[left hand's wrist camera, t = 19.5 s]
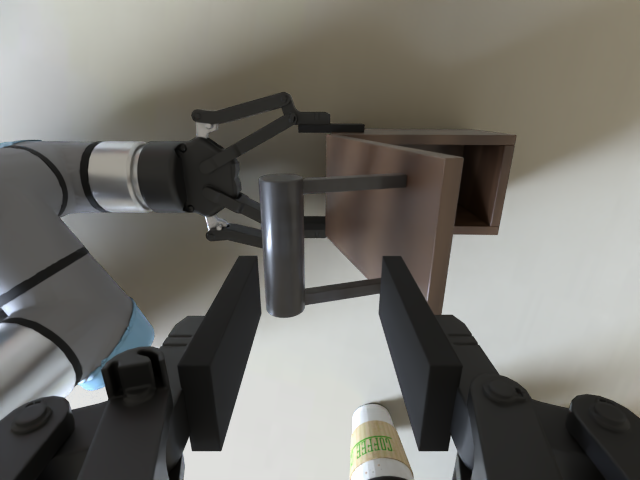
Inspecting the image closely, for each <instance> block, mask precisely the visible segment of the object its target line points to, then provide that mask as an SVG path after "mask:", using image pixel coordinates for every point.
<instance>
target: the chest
mask: <svg viewBox="0 0 640 480" xmlns="http://www.w3.org/2000/svg"><path fill="white" fill-rule="evenodd" d="M331 135H341V136H347V137H352V138H358V139H364V140H369V141H375V142H380V143H386V144H391V145H397V146H403V147H408V148H414V149H419V150H425V151H431V152H436V153H442V154H447V155H453V156H459V157H463V158H464V161H463V168H462V174H461V181H460V188H459V195H458V202H457V209H456V216H455V223H454V230H453V234H468V235H498V230H499V225H500V220H501V215H502V209H503V204H504V199H505V194H506V188H507V183H508V178H509V173H510V167H511V162H512V157H513V152H514V145H515V141H516V135H511V134H503V133H496V132H488V131H480V130H472V129H364V132H332V133H331Z"/></svg>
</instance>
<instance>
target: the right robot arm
mask: <svg viewBox="0 0 640 480" xmlns="http://www.w3.org/2000/svg"><path fill="white" fill-rule="evenodd" d="M278 108H282V111H283V113H284V116H282V117H280V118H279V119H277V120H275V121H273V122H272V123H270V124H268V125H267V126H265V127H263V128H261V129H260V130H258V131H256V132H254V133H253V134H251V135H249V136H248V137H246V138H244V139H242V140H241V141H239V142H237V143H236V144H234V145H232V146H230V147H228V148H227V149H224V148H223V147H221V146H220V145H219V144H217V143H216V142H214V141H213V140H211V139H210V138H208V136H209V133H210V132H212V131H216V130H217V129H218V127H219V124H220V123H227V122H231V121H235V120H239V119H242V118H246V117H249V116H253V115H257V114H260V113H264V112H267V111H271V110H275V109H278ZM191 116H192V119H193V120H194V121H195V122H196V137H195V138H194V139H192V140H190V141H151V142H148V143H145V142H143V141H103V142H68V141H41V140H21V141H14V142H4V143H0V420H2V419H3V418H4V417H5V416H7V415H8V414H9V413H10V412H12V411H13V410H14V409H16V408H18V407H20V406H22V405H23V404H25V403H27V402H30V401H33V400H36V399H38V398H41V397H48V396H59V397H64V398H65V397H66V396H67V395H68V394H69V393H70V392H71V391H72V390H73V388H74V387H75V386H76V385H80V386H82V387H83V388H84V389H86V390H97V389H100V388H103V387H105V384H104V380H103V376H102V373H101V369H102V368H103V366H104V365H105V364H106V362H107V361H109V360H110V359H111V358H113V357H114V356H116V355H117V354H120V353H122V352H124V351H126V350H129V349H133V348H137V347H147V346H151V344H152V342H153V339H154V329H153V327H152V325H151V324H150V323H149V321H148V320H147V319H146V317H145V316H144V315H143V313H142V312H141V311H140V309H139V308H138V307H137V305H136V303H135V301H134V300H133V299H132V298H131V297H129V296H128V295H127V294H126V293H125V292H124V291H123V290H122V289H121V287H120V286H119V285H118V284H117V283H116V282H115V281H114V280H113V279H112V277H111V276H110V275H109V274H108V273H107V272H106V271H105V270H104V269H103V267H102V266H101V265H100V264H99V263H98V262H97V261H96V260H95V259H94V257H93V256H92V255H91V254H90V253H89V251H88V250H87V249H86V248H85V247H84V245H83V244H82V243H81V242H80V241H79V239H78V238H77V237H76V236H75V235H74V234H73V233H72V231H71V230H70V229H69V228H68V227H67V226H66V224H65V223H64V222H63V221H62V220H61V219H60V217H63V216H65V215H68V214H72V213H88V212H121V213H149V212H152V211H154V212H157V213H198V214H200V215H202V216H204V217H206V222H207V226H208V232H207V233H206V238H207V239H208V240H209V241H220V240H230V241H234V242H238V243H242V244H247V245H251V246H255V247H259V248H263V245H262V230H260V229H256V228H251V227H247V226H243V225H239V224H233V223H228V222H227V221H226V220H225V219H221V218H219V217H218V216H217V213H218V212H219V211H221V210H222V209H223V208H225V207H226V208H228V209H230V210H232V211H234V212H236V213H241V214H243V215H245V216H247V217H249V218H251V219H253V220H255V221H257V222H259V223H261V211H260V203H258V202H256V201H254V200H252V199H250V198H249V197H248V196H247V195H245V194H243V193H241V192H240V191H241V182H240V179H239V176H238V175H239V170H240V166H239V162H238V161H237V159H236V158H237V157H238V156H240V155H242V154H244V153H245V152H247V151H249V150H251V149H252V148H254V147H256V146H258V145H259V144H261V143H263V142H265V141H266V140H268V139H270V138H272V137H273V136H275V135H277V134H279V133H280V132H282V131H284V130H285V129H287V128H289V127H291V126H292V125H298V133H332V132H364V126H365V125H364V124H330V114H328V113H326V112H300V111H298V110H297V109H296V108H295V106H294V103H293V100H292V97H291V95H289V94H288V93H286V92H282V93H278V94H275V95H271V96H268V97H264V98H260V99H257V100H253V101H250V102H246V103H243V104H239V105H236V106H232V107H229V108H225V109H221V110H218V111H213V110H194V111H193V112H192V115H191ZM325 217H326V216H304V238H326V235H325Z"/></svg>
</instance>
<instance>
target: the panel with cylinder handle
mask: <svg viewBox="0 0 640 480" xmlns="http://www.w3.org/2000/svg"><path fill="white" fill-rule="evenodd" d="M463 161H464V158H463V157H459V156H453V155H447V154H442V153H436V152H431V151H425V150H419V149H414V148H408V147H403V146H397V145H391V144H386V143H380V142H375V141H369V140H364V139H358V138H352V137H347V136H341V135H326V177H315V178H303V177H302V176H299V175H295V174H270V175H264V176H261V177H260V178H259V194H260V211H261V228H262V245H263V262H264V279H265V296H266V310H267V312H268V313H269V314H271V315H272V316H275V317H280V318H288V317H293V316H296V315H298V314H300V313H301V312H303V310H304V308H305V305H309V304H316V303H322V302H328V301H335V300H341V299H347V298H354V297H360V296H366V295H373V294H379V293H380V287H381V272H382V257H383V256H401V257H402V258H403V260H404V262H405V264H406V266H407V267H408V269H409V271H410V273H411V274H412V276H413V278H414V280H415V282H416V283H417V285H418V287H419V289H420V290H421V292H422V294H423V296H424V297H425V299H426V301H427V303H428V305H429V306H430V308H431V310H432V312H433V313H434V315H441V314H442V307H443V300H444V293H445V286H446V279H447V272H448V265H449V258H450V251H451V244H452V237H453V230H454V223H455V216H456V209H457V202H458V195H459V188H460V181H461V174H462V168H463ZM315 193H326V217H325V235H326V237H327V238H328V239H329V240H330V241H331V242H332V243H333V244H334V245H335V246H336V247H337V248H338V249H339V250H340V251H341V252H342V253H343V254H344V255H345V256H346V257H347V258H348V259H349V260H350V261H351V262H352V263H353V264H354V265H355V267H356V268H357V269H358V270H359V271H360V272H361V273H362V274H363V275H364V276H365V277H366V278H367V279H368V280H362V281H355V282H348V283H341V284H334V285H327V286H320V287H313V288H306V289H305V268H304V196H303V194H315Z"/></svg>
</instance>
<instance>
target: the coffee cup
mask: <svg viewBox="0 0 640 480" xmlns="http://www.w3.org/2000/svg"><path fill="white" fill-rule="evenodd" d="M350 480H414V476H413V472H412V469H411V467H410V464H409V462H408V459H407V456H406V454H405V451H404V448H403V446H402V443H401V441H400V438H399V435H398V433H397V431H396V429H395V427H394V424H393V422H392V419H391V416H390V414H389V412H388V410H387V409H386V408H384V407H383V406H381V405H378V404H367V405H364V406H361V407H360V408H358V409H357V410H356V411H355V413H354V414H353V422H352V436H351V459H350Z"/></svg>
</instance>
